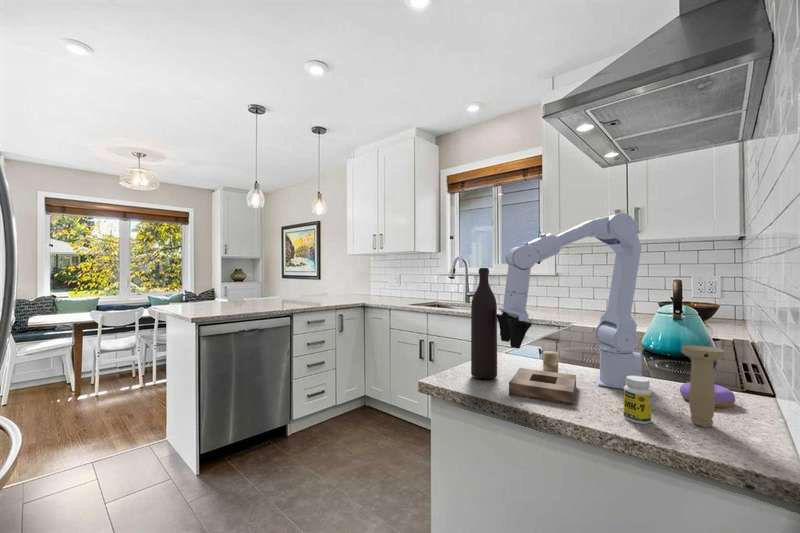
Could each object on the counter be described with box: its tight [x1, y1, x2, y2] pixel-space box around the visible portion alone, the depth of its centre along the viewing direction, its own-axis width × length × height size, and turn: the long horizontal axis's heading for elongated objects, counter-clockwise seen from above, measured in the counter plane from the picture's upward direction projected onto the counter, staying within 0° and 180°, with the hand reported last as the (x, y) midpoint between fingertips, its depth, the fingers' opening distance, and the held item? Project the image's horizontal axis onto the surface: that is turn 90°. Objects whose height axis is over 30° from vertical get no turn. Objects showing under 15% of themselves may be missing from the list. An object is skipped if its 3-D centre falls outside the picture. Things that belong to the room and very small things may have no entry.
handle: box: [681, 345, 725, 428], centre depth 74 cm, size 5×6×15 cm
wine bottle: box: [470, 267, 498, 379], centre depth 105 cm, size 7×7×30 cm
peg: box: [542, 350, 559, 373], centre depth 107 cm, size 4×4×6 cm
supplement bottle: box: [622, 376, 653, 425], centre depth 76 cm, size 5×5×8 cm
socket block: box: [508, 367, 577, 406], centre depth 93 cm, size 14×14×3 cm
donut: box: [679, 381, 736, 408], centre depth 86 cm, size 10×9×5 cm
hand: (509, 344), depth 97 cm, fingers open, 7 cm apart
